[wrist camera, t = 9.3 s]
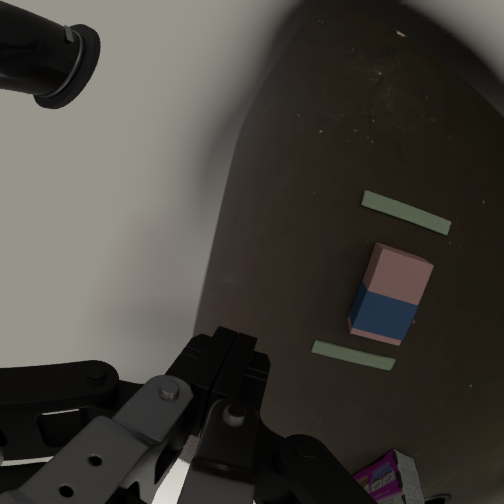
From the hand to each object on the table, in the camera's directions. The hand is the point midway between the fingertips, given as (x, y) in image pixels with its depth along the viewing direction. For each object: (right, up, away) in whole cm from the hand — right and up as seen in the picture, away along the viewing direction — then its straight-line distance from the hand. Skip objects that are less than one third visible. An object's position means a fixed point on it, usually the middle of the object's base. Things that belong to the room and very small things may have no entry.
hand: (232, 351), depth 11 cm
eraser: (+12, +1, +12) cm, 17 cm away
